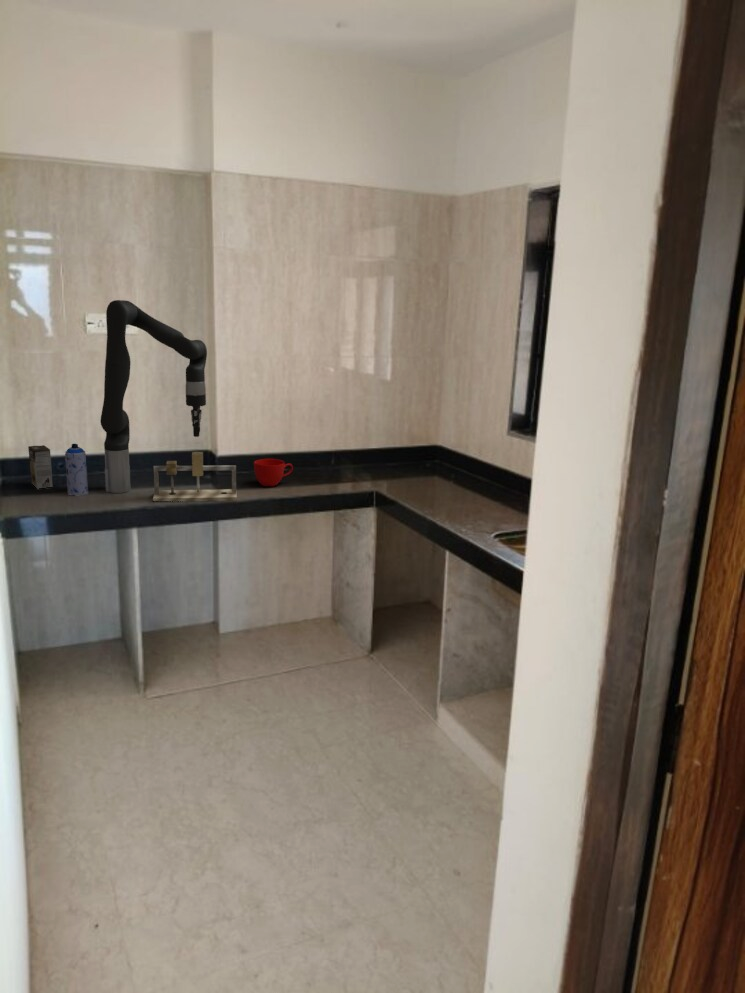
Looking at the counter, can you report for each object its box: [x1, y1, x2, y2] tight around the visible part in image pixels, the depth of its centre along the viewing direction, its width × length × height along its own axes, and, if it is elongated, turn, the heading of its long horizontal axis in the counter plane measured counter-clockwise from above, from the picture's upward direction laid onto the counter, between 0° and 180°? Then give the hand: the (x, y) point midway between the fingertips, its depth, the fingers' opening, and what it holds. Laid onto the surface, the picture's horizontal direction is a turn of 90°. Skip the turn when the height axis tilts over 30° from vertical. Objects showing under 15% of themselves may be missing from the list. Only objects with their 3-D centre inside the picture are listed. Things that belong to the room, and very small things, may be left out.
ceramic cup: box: [253, 458, 294, 487], centre depth 321 cm, size 13×17×10 cm
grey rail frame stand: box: [152, 460, 238, 503], centre depth 296 cm, size 32×12×14 cm, turn 101°
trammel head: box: [191, 451, 204, 492], centre depth 296 cm, size 4×5×16 cm
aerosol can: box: [64, 443, 89, 496], centre depth 294 cm, size 8×8×20 cm
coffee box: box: [28, 445, 54, 490], centre depth 303 cm, size 9×6×16 cm
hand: (196, 434), depth 292 cm, fingers open, 8 cm apart
